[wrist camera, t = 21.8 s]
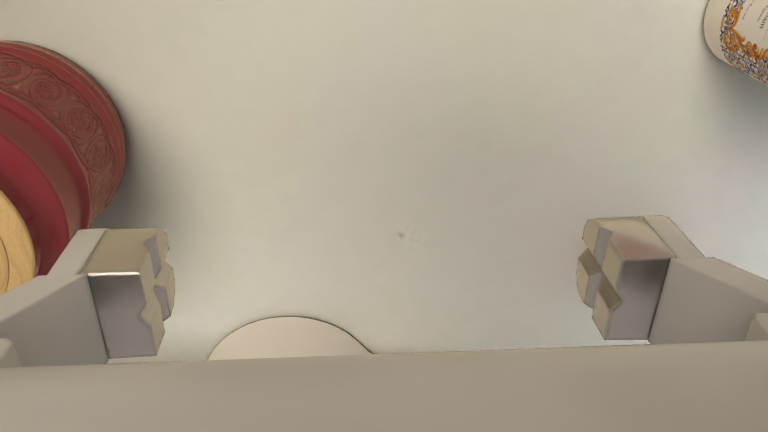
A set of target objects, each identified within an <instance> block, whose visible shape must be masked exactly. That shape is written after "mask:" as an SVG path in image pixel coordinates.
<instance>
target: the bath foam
mask: <svg viewBox="0 0 768 432" xmlns="http://www.w3.org/2000/svg"><path fill="white" fill-rule="evenodd" d="M704 35H705V39H706V42H707V44H708V46H709V48H710V50H711V51H712V52H713V54H714V55H715V56H717V57H718V58H719V59H721V60H722V61H724V62H726V63H727V64H729V65H731V66H733V67H735V68H736V69H738V70H739V71H741V72H743V73H745V74H747V75H748V76H750V77H752V78H754V79H756V80H758V81H759V82H761V83H763V84H765V85H767V86H768V0H710V1H709V3H708V6H707V9H706V12H705V17H704Z"/></svg>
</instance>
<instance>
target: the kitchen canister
mask: <svg viewBox="0 0 768 432" xmlns="http://www.w3.org/2000/svg"><path fill="white" fill-rule="evenodd" d="M125 157H126V140H125V134H124V129H123V125H122V122H121V120H120V117H119V115H118V112H117V110H116V108H115V107H114V105H113V103H112V101H111V100H110V98H109V97H108V95H107V94H106V93H105V91H104V90H103V89H102V88H101V86H100V85H99V84H98V83H97V82H96V81H95V80H94V79H93V78H92V77H91V76H90V75H89V74H88V73H86V72H85V71H84V70H83V69H82V68H80V67H79V66H77V65H76V64H75V63H73V62H72V61H70V60H68V59H67V58H65V57H63V56H61V55H59V54H57V53H55V52H53V51H51V50H48V49H46V48H43V47H40V46H36V45H33V44H29V43H24V42H18V41H0V295H1V294H3V293H5V292H7V291H9V290H11V289H13V288H15V287H17V286H19V285H21V284H23V283H25V282H27V281H29V280H31V279H33V278H35V277H37V276H40V275H47V274H48V273H49V271H50V270H51V269H52V267H53V266H54V264H55V263H56V261H57V260H58V258H59V257H60V255H61V254H62V252H63V251H64V249H65V248H66V247H67V245H68V244H69V242H70V241H71V239H72V238H73V236H74V235H75V233H76V232H77V231H78V230H81V229H89V227H90V226H91V224H92V223H93V221H94V220H95V218H96V216H97V215H99V214H100V213H101V212H102V211H103V210H104V209H105V207H106V206H107V205H108V204H109V202H110V201H111V199H112V197H113V196H114V194H115V193H116V191H117V189H118V187H119V184H120V182H121V179H122V175H123V171H124V164H125Z"/></svg>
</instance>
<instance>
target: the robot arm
mask: <svg viewBox="0 0 768 432" xmlns="http://www.w3.org/2000/svg"><path fill="white" fill-rule="evenodd" d="M582 239H583V240H584V242H585V244H586V245H587V247H588V248H587V249H586V250H585V251H584V252H583V253H582V255H581V256H580V257H579V258H578V264H577V271H576V276H577V287H578V291H579V294H580V296H581V298H582V300H583V302H584V304H586V305H588V306H590V307H591V308H593V309H594V310H593V315H592V319H593V320H594V322H595V324H596V326H597V327H598V329H599V331H600V333H601V335H602V336H603V338H604V340H648V342H650V343H651V344H645V345H617V346H590V347H562V348H535V349H507V350H479V351H452V352H424V353H396V354H372V353H370V352H369V351H367V350H366V349H365V348H364V347H363V346H362V345H361V344H360V343H359V342H358V341H357V340H355V339H354V338H353V337H352V336H350V335H349V334H348V333H346V332H344V331H343V330H341V329H339V328H337V327H335V326H333V325H330V324H328V323H325V322H322V321H318V320H314V319H309V318H302V317H276V318H269V319H264V320H260V321H256V322H253V323H250V324H248V325H245V326H243V327H241V328H239V329H237V330H236V331H234V332H232V333H231V334H229V335H228V336H227V337H225V338H224V339H223V340H222V341H221V342H220V343H219V344H218V345H217V346H216V347H215V349H214V350H213V352H212V353H211V355H210V356H209V358H208V360H201V361H173V362H145V363H118V364H106V363H107V362H108V359H111V358H128V357H144V356H157V353H158V350H159V347H160V345H161V342H162V339H163V336H164V333H165V329H164V323H163V321H165V320H166V319H167V318H169V317H170V316H171V313H172V310H173V307H174V299H175V279H174V272H173V268H172V267H171V266H170V265H169V264H168V263H167V262H166V261H165V258H166V256H167V253H168V251H169V245H168V240H167V235H166V233H165V231H164V230H163V228H113V229H107V228H97V229H81V230H78V231H77V232H76V233H75V235H74V236H73V238H72V239H71V241H70V242H69V244H68V245H67V247H66V248H65V249H64V251H63V252H62V254H61V255H60V257H59V258H58V260H57V261H56V263H55V264H54V266H53V267H52V269H51V270H50V271H49V273H48V274H47V275H40V276H37V277H35V278H33V279H31V280H29V281H27V282H25V283H23V284H21V285H19V286H17V287H15V288H13V289H11V290H9V291H7V292H5V293H3V294H1V295H0V432H768V280H766V279H764V278H761V277H759V276H757V275H754V274H752V273H750V272H747V271H745V270H743V269H740V268H738V267H735V266H733V265H731V264H728V263H726V262H724V261H721V260H719V259H716V258H714V257H705V256H704V255H703V254H702V253H701V252H700V251H699V250H698V249H697V248H696V246H695V245H694V244H693V243H692V242H691V241H690V240H689V239H688V238H687V237H686V236H685V235H684V233H683V232H682V231H681V230H680V229H679V228H678V227H677V226H676V225H675V224H674V223H673V221H672V220H671V219H670V218H669V217H666V216H663V215H658V216H643V217H642V216H639V217H618V218H597V219H589V220H588V221H587V223H586V225H585V227H584V232H583V237H582Z"/></svg>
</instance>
